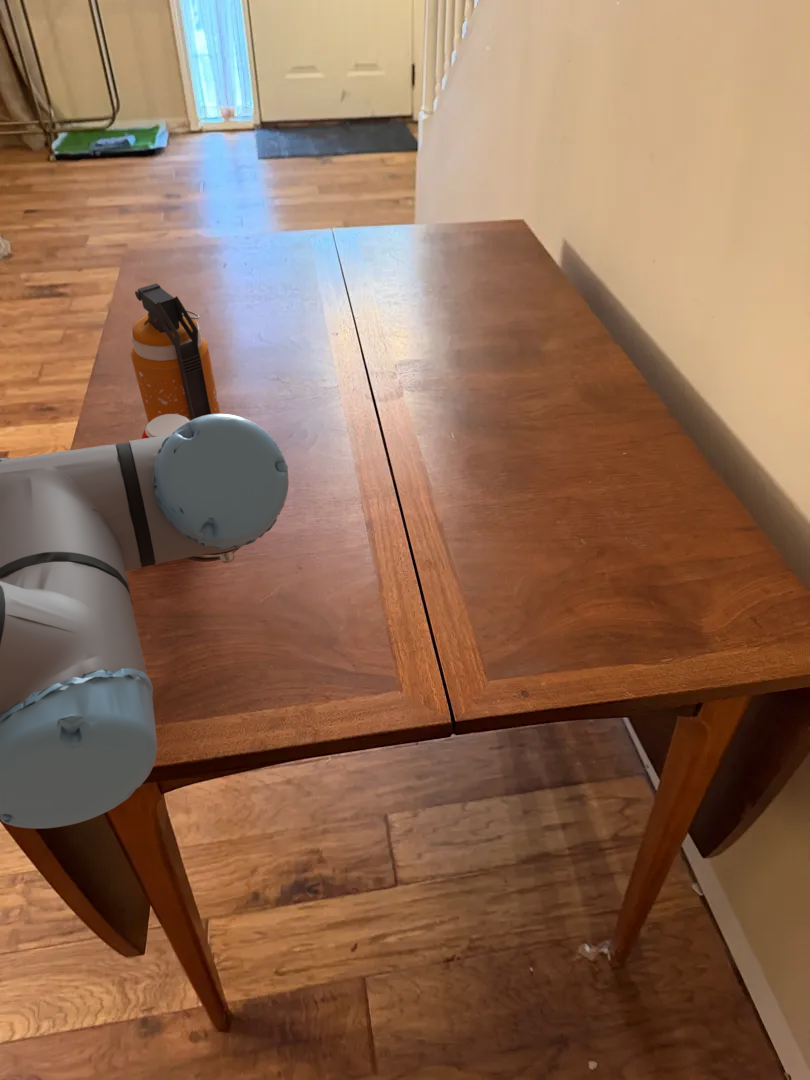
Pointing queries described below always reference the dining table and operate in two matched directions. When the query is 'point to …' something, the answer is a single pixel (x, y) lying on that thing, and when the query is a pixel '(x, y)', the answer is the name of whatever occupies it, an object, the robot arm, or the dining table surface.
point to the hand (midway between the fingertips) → (190, 536)
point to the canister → (171, 358)
